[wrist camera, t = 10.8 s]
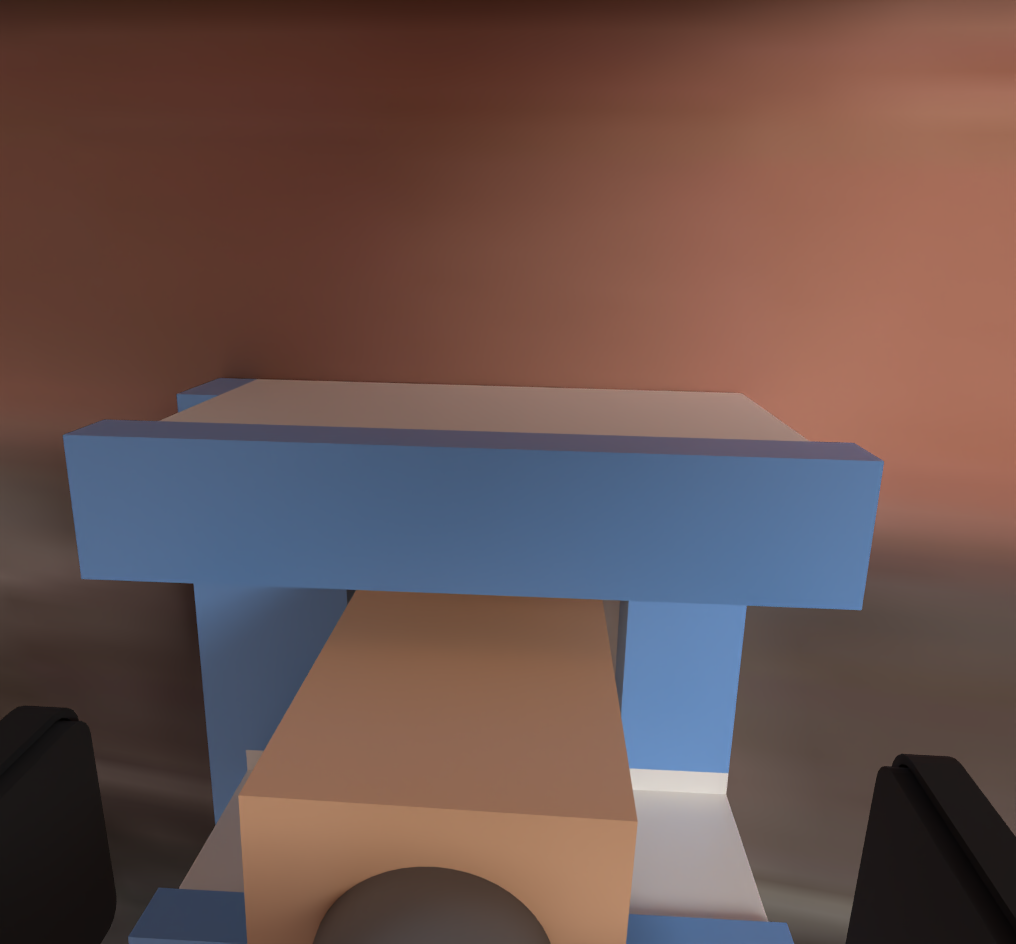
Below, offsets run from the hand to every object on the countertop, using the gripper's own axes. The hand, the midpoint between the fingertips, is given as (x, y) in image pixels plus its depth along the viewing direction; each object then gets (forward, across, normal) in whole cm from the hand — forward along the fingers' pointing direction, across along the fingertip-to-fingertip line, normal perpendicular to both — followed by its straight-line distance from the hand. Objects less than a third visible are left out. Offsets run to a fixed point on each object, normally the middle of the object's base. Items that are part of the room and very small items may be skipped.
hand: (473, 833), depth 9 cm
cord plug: (+8, 0, +1) cm, 8 cm away
